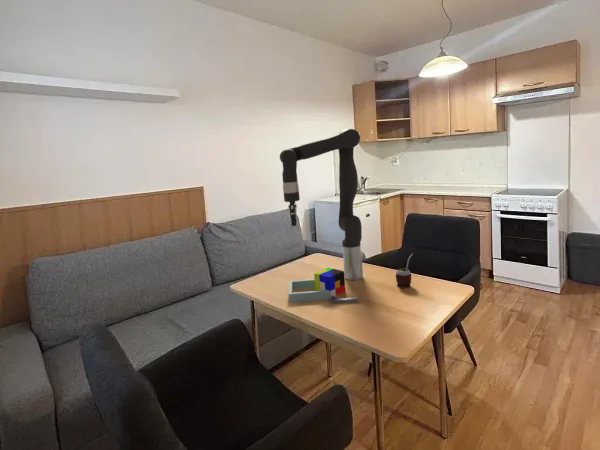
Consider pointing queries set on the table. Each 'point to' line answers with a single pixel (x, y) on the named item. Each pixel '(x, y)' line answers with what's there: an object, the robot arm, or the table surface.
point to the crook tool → (343, 300)
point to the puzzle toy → (330, 281)
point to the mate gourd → (404, 276)
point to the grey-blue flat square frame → (306, 295)
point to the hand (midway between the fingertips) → (294, 224)
